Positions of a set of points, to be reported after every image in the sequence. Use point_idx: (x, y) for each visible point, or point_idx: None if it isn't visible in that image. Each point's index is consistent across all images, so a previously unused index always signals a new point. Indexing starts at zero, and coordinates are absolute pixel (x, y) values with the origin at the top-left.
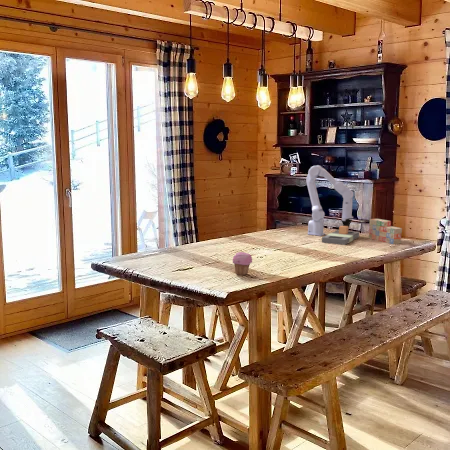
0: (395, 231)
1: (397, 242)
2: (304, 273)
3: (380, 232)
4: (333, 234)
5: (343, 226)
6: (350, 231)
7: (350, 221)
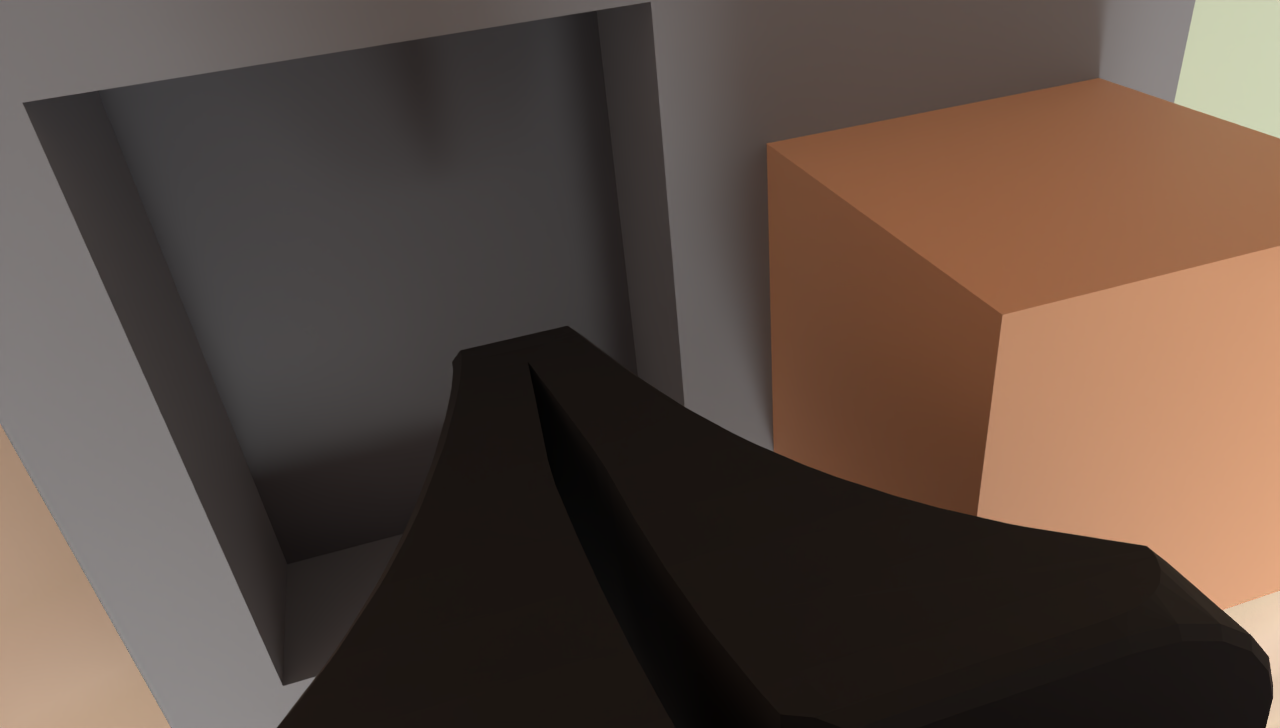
0: None
1: None
2: None
3: None
4: None
5: (1229, 466)
6: (48, 351)
7: (793, 658)
